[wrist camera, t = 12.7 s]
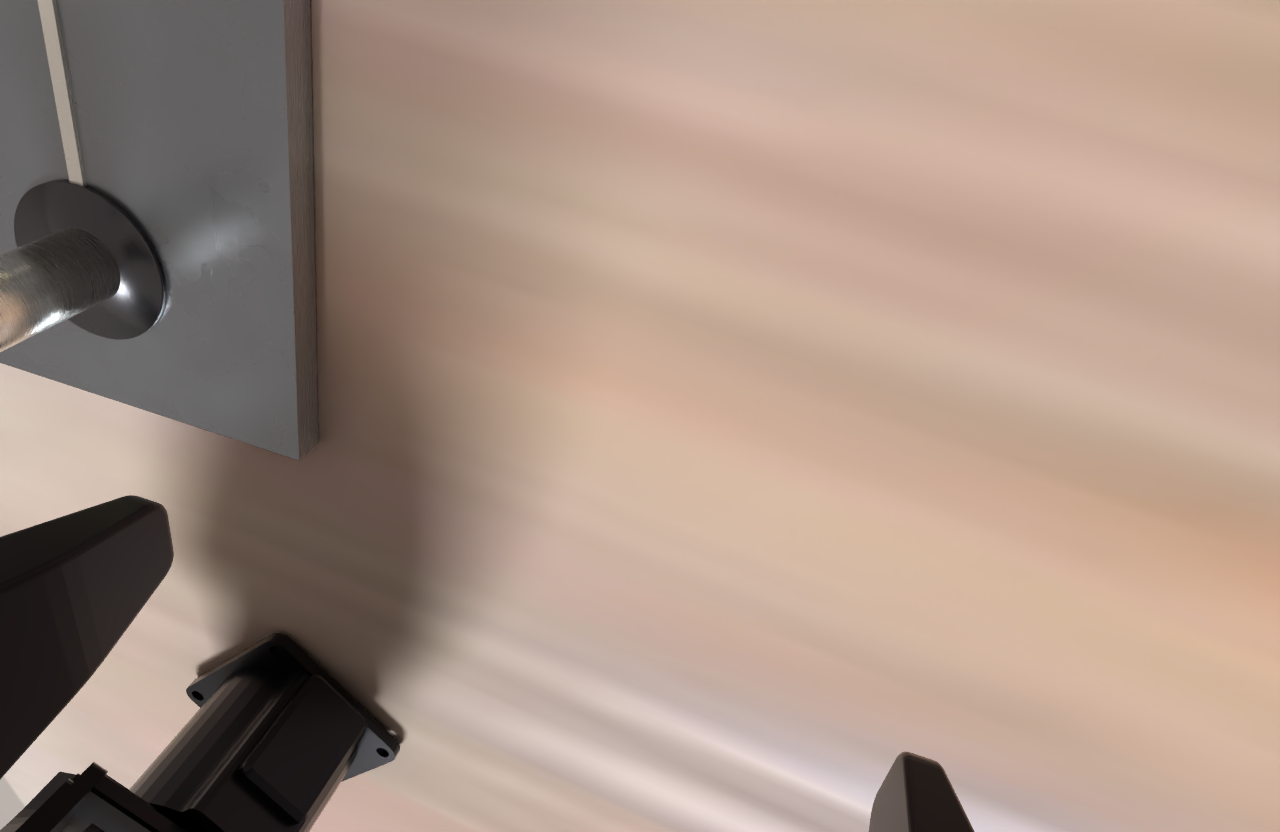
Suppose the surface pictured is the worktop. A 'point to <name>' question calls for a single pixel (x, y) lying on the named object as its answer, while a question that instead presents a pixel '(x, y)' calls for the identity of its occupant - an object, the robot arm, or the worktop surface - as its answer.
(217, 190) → the plate
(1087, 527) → the worktop surface
